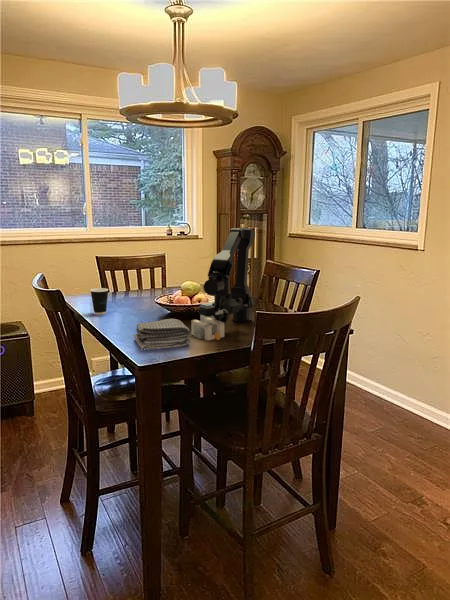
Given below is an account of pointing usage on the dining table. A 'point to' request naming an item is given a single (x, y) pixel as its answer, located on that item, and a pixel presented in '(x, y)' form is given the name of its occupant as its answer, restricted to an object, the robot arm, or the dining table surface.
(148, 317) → the dining table surface
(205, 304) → the medicine box
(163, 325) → the towel
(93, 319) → the dining table surface
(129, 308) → the dining table surface
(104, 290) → the dixie cup
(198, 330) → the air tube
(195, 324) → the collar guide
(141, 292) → the dining table surface
